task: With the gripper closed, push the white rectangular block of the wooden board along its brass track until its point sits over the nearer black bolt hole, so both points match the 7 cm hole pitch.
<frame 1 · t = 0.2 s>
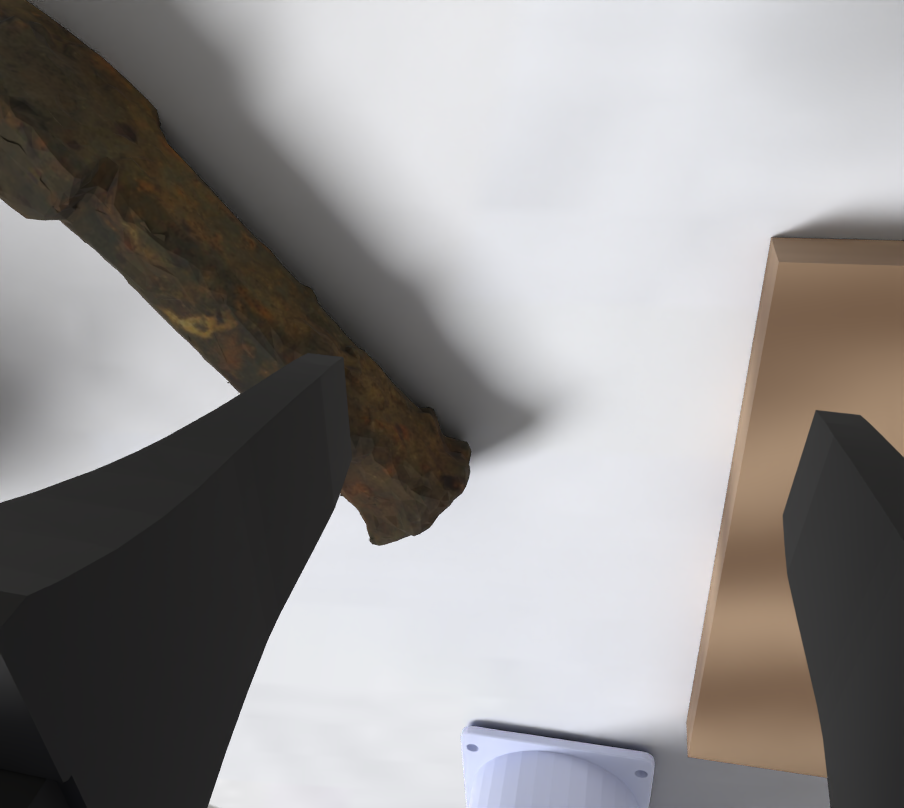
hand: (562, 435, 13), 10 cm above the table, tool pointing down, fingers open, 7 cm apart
hand tool: (231, 252, 24), on the table
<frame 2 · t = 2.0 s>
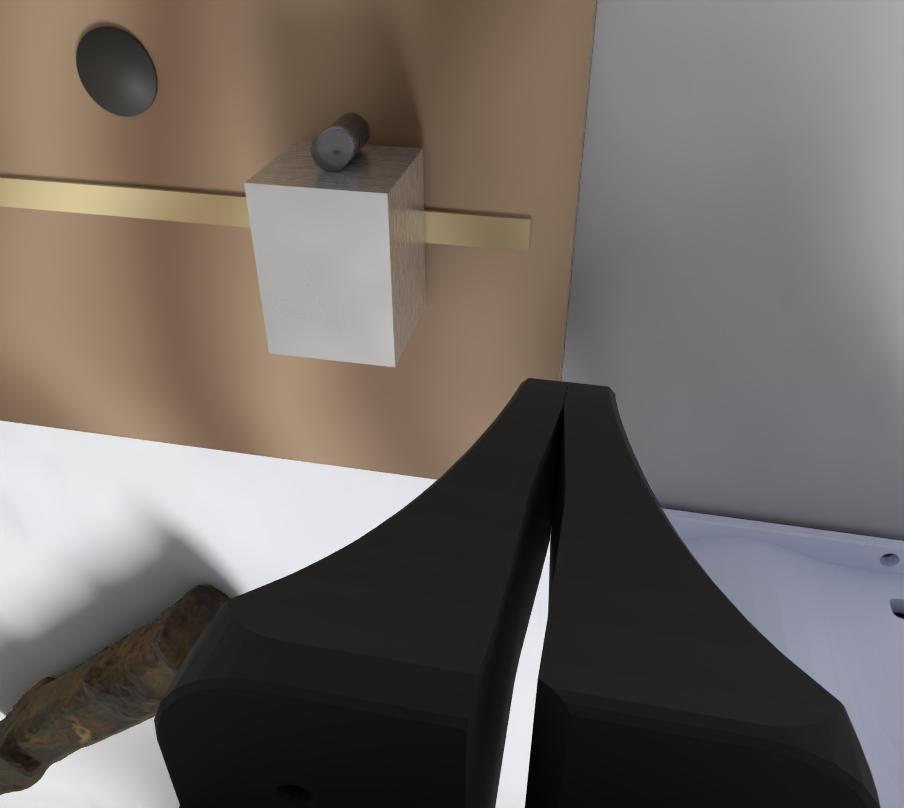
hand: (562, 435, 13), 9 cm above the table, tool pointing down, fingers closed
white rectangular block: (343, 235, 18), point 3 cm above the table, slide at 0.0 cm
wooden board: (214, 221, 22), on the table
hand tool: (126, 667, 37), on the table
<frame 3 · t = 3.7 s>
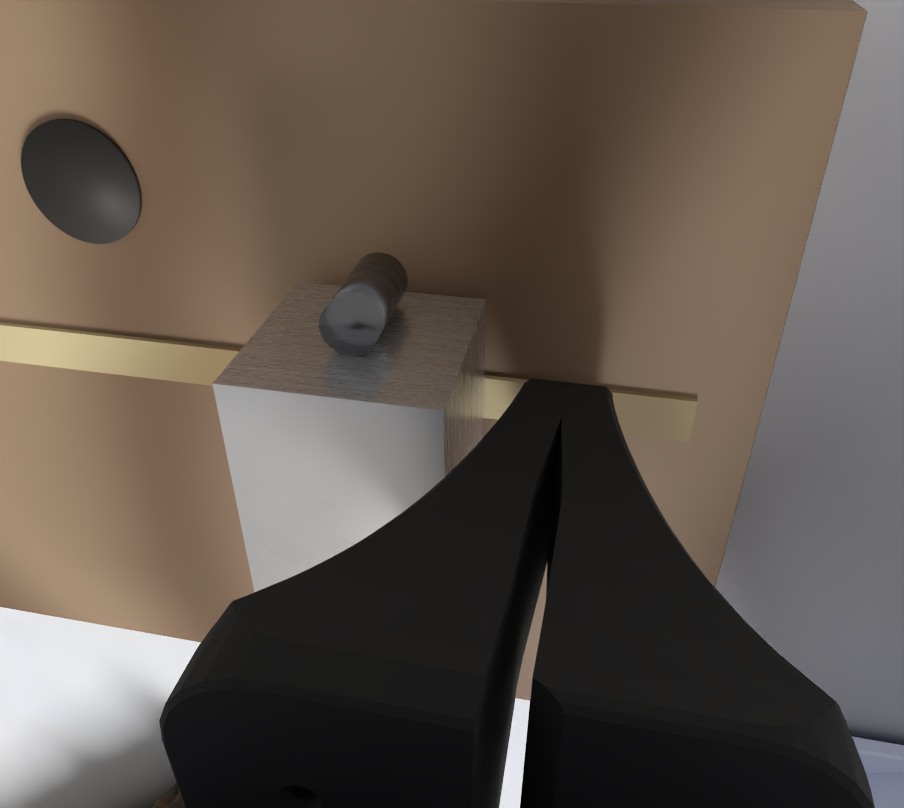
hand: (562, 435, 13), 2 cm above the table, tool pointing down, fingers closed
white rectangular block: (368, 431, 12), point 3 cm above the table, slide at 0.9 cm, touching gripper
wooden board: (224, 365, 16), on the table
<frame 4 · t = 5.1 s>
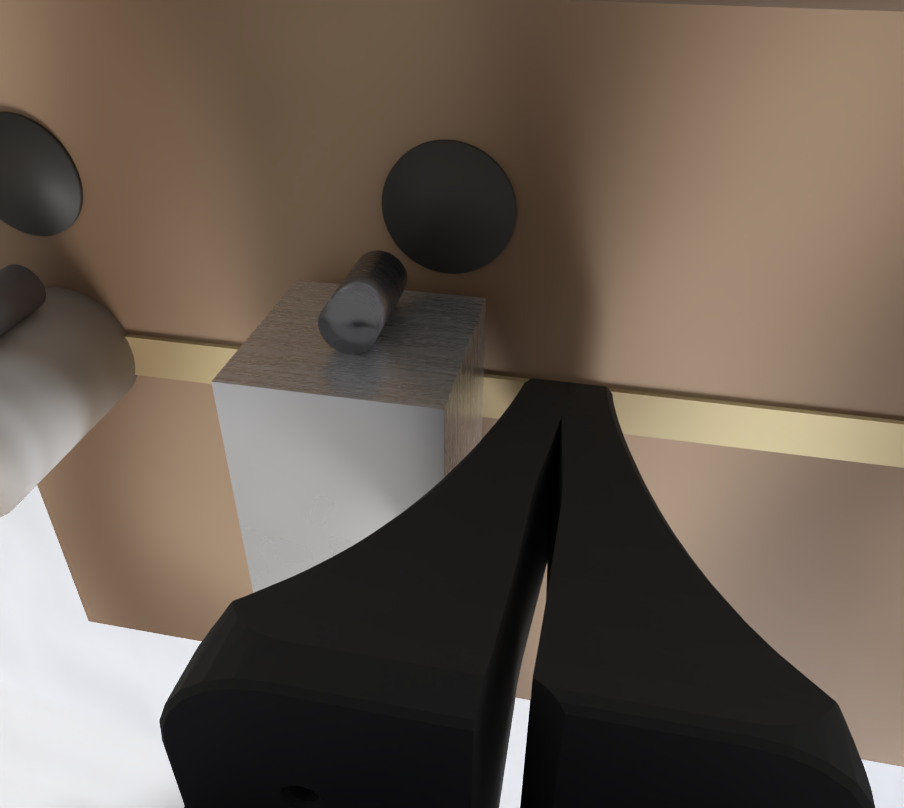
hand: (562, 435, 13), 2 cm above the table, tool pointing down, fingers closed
white rectangular block: (367, 429, 12), point 3 cm above the table, slide at 6.8 cm, touching gripper
wooden board: (516, 397, 15), on the table
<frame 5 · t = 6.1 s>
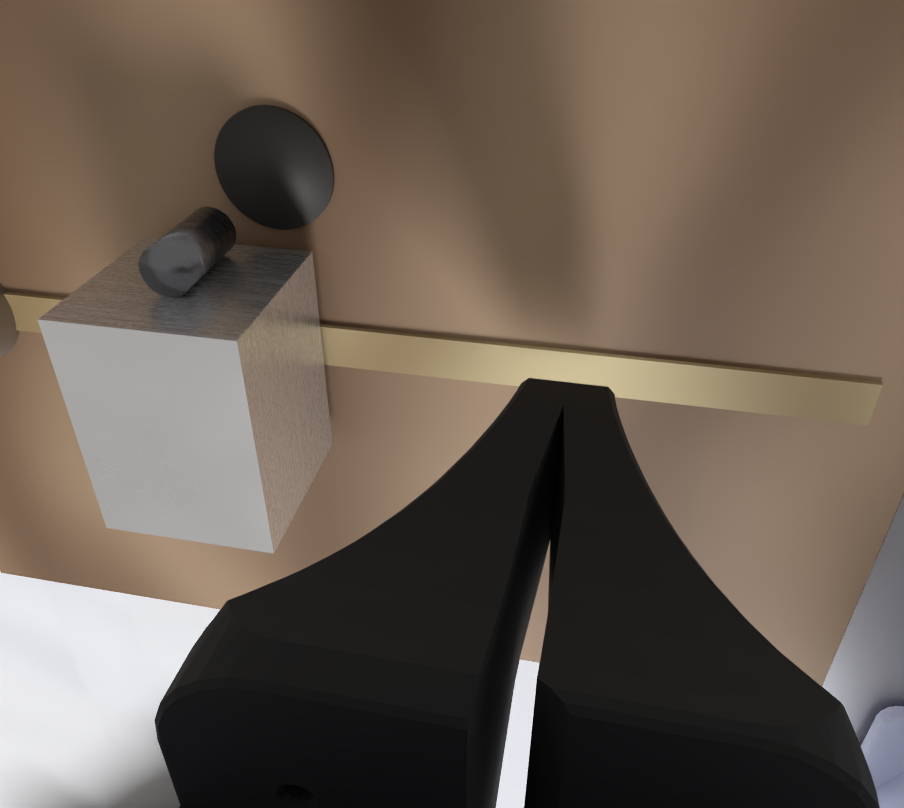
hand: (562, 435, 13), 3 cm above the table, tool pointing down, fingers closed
white rectangular block: (203, 371, 13), point 3 cm above the table, slide at 6.9 cm
wooden board: (374, 351, 16), on the table
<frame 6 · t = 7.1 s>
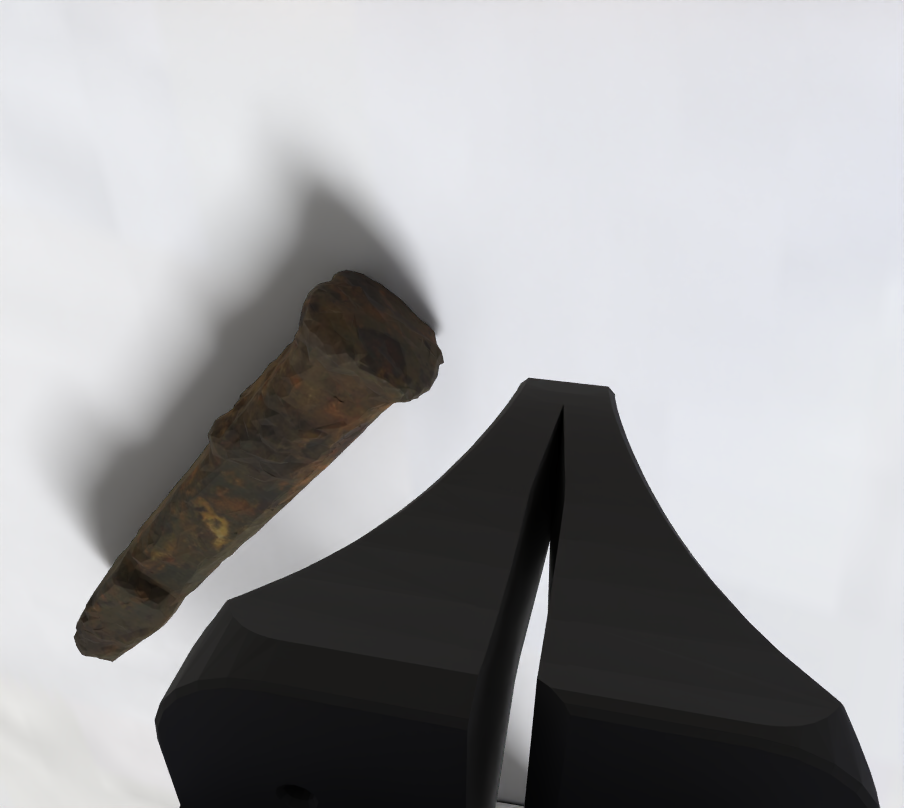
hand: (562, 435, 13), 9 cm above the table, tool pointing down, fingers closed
hand tool: (260, 467, 28), on the table
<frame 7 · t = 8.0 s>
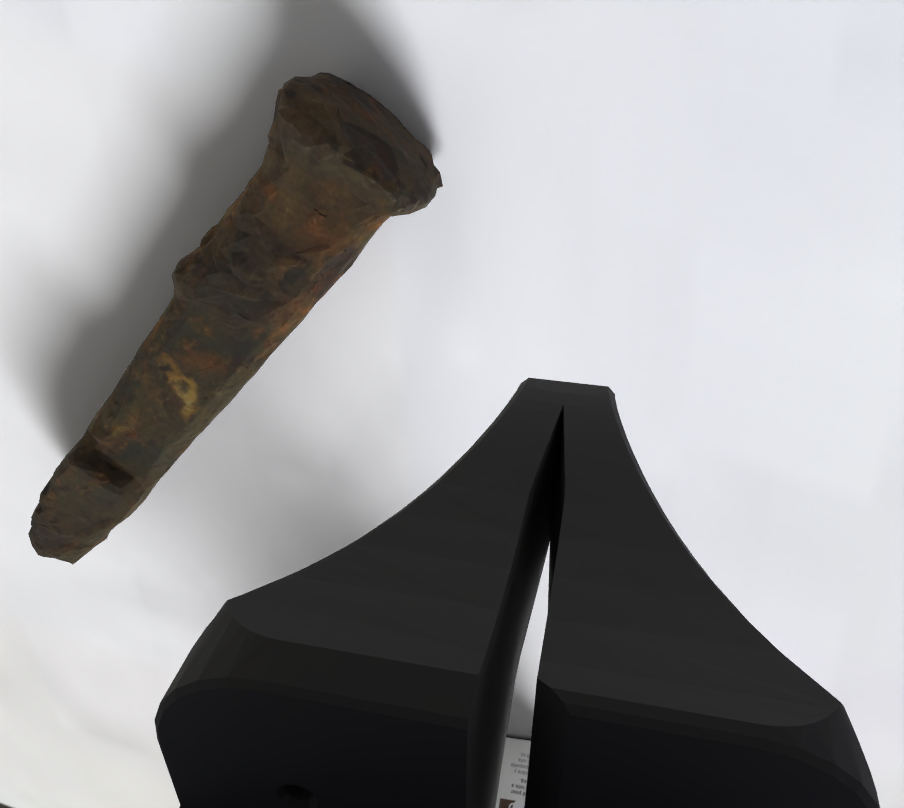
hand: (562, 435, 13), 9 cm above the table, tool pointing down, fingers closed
coffee box: (488, 787, 36), on the table
hand tool: (237, 343, 25), on the table
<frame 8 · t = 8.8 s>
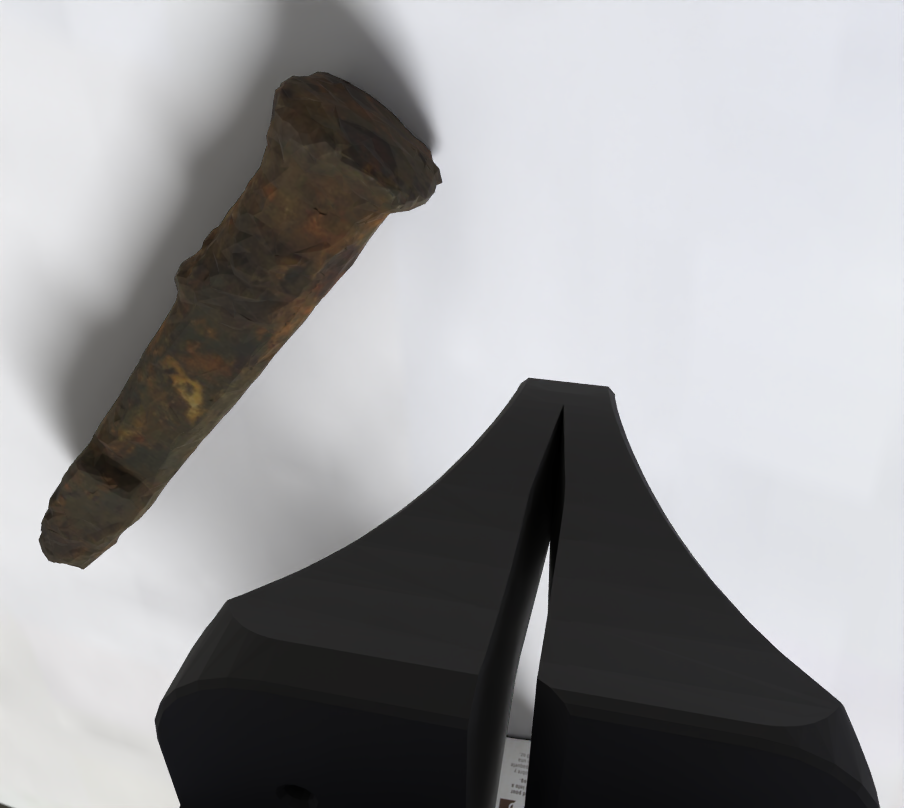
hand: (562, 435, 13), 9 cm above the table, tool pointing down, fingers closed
coffee box: (488, 787, 36), on the table
hand tool: (242, 345, 25), on the table
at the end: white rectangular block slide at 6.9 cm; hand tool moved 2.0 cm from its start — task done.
